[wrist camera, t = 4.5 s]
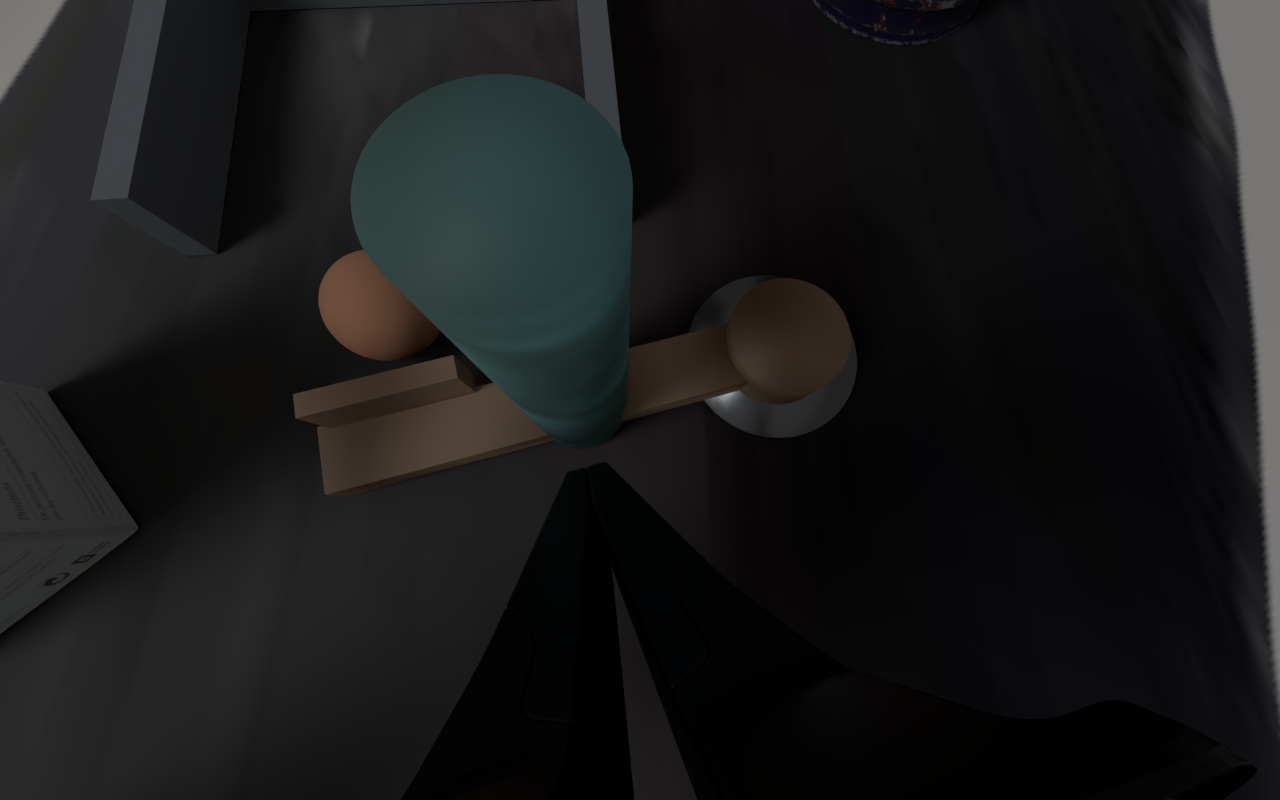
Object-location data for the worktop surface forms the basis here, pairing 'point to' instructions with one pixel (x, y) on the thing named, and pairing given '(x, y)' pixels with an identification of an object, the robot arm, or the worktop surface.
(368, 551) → the worktop surface
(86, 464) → the supplement box
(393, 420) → the lever
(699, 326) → the pivot base
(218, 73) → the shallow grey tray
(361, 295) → the ball
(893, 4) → the storage jar
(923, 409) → the worktop surface
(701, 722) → the robot arm
